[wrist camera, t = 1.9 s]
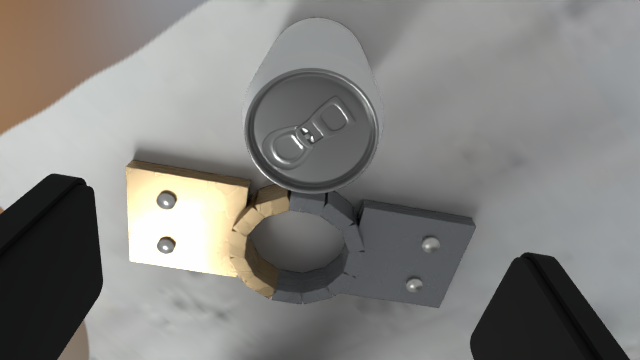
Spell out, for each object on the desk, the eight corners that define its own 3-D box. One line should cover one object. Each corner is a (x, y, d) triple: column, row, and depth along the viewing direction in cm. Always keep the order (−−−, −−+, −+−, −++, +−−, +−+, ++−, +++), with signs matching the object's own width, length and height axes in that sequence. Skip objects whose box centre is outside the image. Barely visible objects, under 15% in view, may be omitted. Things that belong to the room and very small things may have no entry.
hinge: (433, 303, 38) (439, 324, 36) (136, 258, 36) (123, 277, 33) (474, 210, 33) (485, 229, 31) (132, 151, 31) (117, 166, 28)
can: (249, 56, 27) (200, 119, 17) (328, -6, 25) (330, 20, 15) (307, 130, 30) (297, 225, 19) (383, 78, 28) (418, 152, 17)
